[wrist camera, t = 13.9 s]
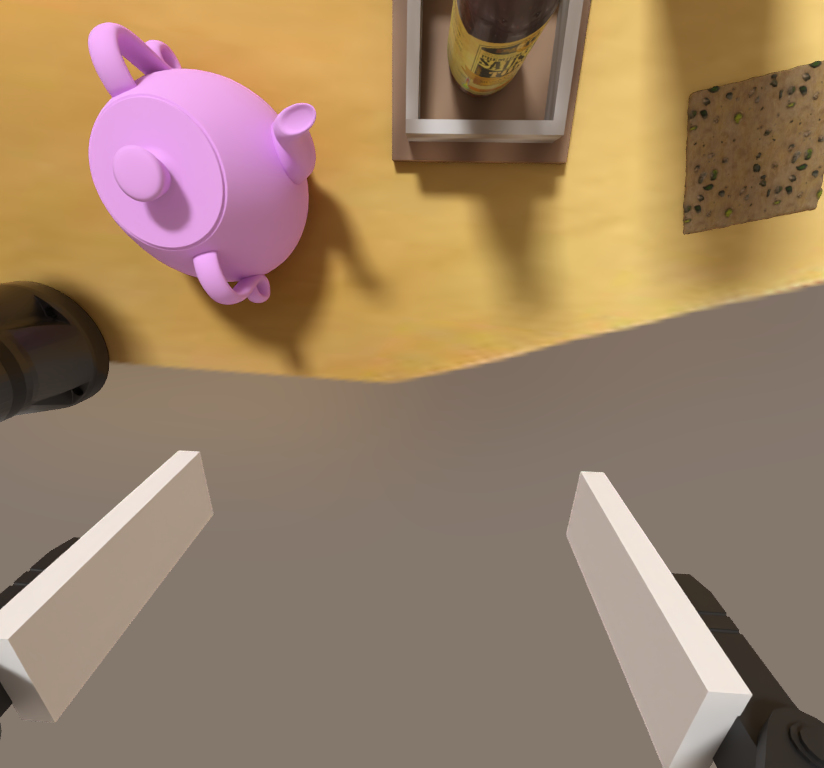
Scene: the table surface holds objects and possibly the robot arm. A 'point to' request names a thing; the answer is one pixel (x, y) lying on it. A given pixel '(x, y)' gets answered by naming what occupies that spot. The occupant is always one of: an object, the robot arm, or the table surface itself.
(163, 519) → the robot arm
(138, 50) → the teapot
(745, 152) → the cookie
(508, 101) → the grey square tray
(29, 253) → the table surface
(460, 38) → the sauce bottle
